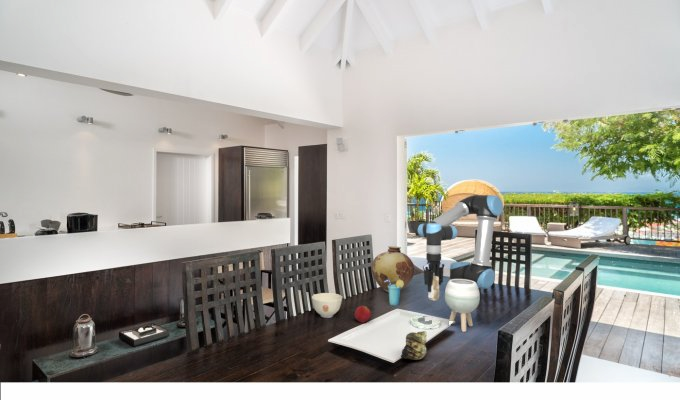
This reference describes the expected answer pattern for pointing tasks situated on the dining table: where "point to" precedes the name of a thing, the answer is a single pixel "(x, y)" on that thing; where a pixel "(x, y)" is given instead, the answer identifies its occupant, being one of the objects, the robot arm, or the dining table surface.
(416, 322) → the dish
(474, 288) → the planter
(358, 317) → the apple
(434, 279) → the tan wooden block
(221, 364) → the dining table surface
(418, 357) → the seashell
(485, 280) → the robot arm
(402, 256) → the vase
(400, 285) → the cup
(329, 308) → the bowl
